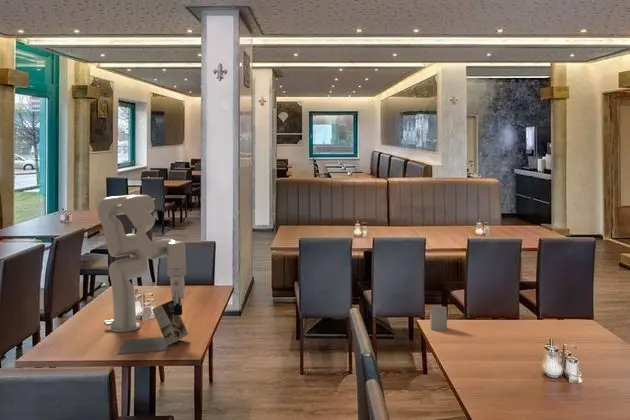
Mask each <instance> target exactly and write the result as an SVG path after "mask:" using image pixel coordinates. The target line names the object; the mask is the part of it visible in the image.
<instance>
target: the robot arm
mask: <svg viewBox="0 0 630 420" xmlns="http://www.w3.org/2000/svg"><path fill="white" fill-rule="evenodd" d="M155 208H156V204H155V201H154V199H153V198H152V196H150V195H148V194H126V195H116V196H114V195H113V196H107V197H104V198H102V199H101V200H100V201H99V202H98V204H97V208H96V209H97V216H98V217H97V218H98V219H99V222H100V224H101V227H102V230H103V233H104V237H105V244H106V248H107V251H108V254H109V256H111V257H113V258H118V257H119V258H120V257H125V256H129V257H127V258H122V259H117V260H115V261H113V262H112V263H110V264H109V266H108V276H109V278H110V283H111V291H112V293H111V295H112V309H113V319H110V320H108V319H107V320H103V324H104V326H105V327H107V326H110V330H111V332H115V333H128V332H132V331H133V332H134V331H135V330H138V329H139V328H140V326H141V324H140V323H139V322H137V313H136V312H137V311H136V296H135V295H136V293H135V287H134V285H133V283H131V281H130V280H133V279H137V278H141V277H143V276H145V275H146V274H147V272H148V271H149V270H148V268H149V267H148V266H149V265H148V260H147V259H149V260H156V259H157V260H158V259H163V258H166V272H167V276H168V277H170V291H171V292H170V293H171V301H172V300H174V315H180V316H183V304H182V300H185V295H186V290H185V288H186V287H185V276H187V263H186V262H187V261H186V260H187V257H186V243H185V241H182V240H176V239H173V238H163V239H156V240H151V239H150V237H149V236H148V235H147V232H148V231H150V230H151V229H152V228H153V226H155V222H156V219H155V218H154V216H153V215H152V213H153V212H154V210H155ZM120 215H121V216H122V215H126V218H128V220H129V222H131V224H132V225H133V226H134V228H135V229H136V232H135V233H127V234H126V231H125V228H124V225H123V222H121V220H120V219H119V218H118V217H117V216H120Z"/></svg>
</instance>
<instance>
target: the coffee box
mask: <svg viewBox="0 0 630 420" xmlns="http://www.w3.org/2000/svg"><path fill="white" fill-rule="evenodd" d="M151 310H152V313H153V314H154V318H155V320H156V322H157V324H158V327H159V329H160V333H161V334H162V337H164V339H165V342H166V344H167V345H168V344H169V345H171V344H173V343H176V342H178V341H180V340H182V339H183V338H185V337H186V336H189V333H188V330H187V327H186V326H185V323H184V321H183V318H182V317H181V316H182V315H174V300H172V299H171V300H170V301H167V302H164V303H162V304H160V305H157V307H154V308H152V309H151Z"/></svg>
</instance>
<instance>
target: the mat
mask: <svg viewBox="0 0 630 420" xmlns="http://www.w3.org/2000/svg"><path fill="white" fill-rule="evenodd" d="M169 345H170V344H168V345H167V344H166V342H165V339H164V337H163V336H162V337H151V338H150V337H149V338H137V339H123V342H122V343H121V346H120V348H119V350H118V352H117V355H126V354H138V353H139V354H140V353H141V354H142V353H154V352H155V353H157V352H166V351H167V352H168V349H169Z"/></svg>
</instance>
